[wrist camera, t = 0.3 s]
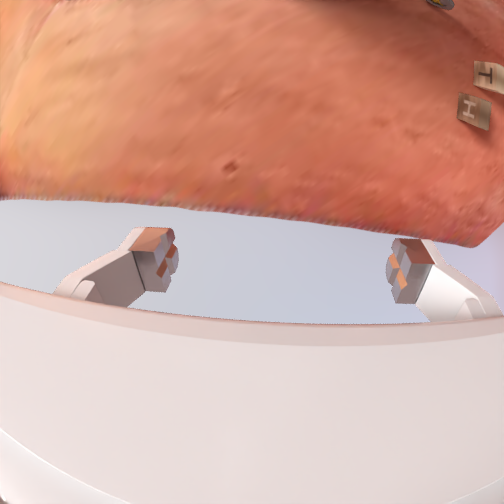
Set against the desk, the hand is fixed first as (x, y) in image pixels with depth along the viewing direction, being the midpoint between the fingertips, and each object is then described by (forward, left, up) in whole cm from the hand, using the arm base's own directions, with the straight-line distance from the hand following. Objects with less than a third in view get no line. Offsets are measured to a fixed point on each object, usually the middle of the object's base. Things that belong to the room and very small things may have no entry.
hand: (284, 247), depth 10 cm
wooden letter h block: (-6, +39, -47) cm, 61 cm away
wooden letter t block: (-15, +43, -47) cm, 65 cm away
